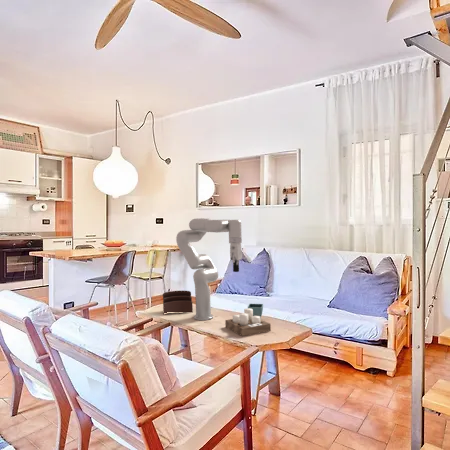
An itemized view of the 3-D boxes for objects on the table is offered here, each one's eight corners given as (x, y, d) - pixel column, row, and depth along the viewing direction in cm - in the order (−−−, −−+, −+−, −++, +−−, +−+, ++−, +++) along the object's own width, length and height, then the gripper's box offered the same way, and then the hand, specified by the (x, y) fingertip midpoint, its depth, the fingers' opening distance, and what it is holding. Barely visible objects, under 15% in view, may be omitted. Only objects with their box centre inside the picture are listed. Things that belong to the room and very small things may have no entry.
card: (247, 325, 192) (247, 324, 192) (258, 323, 195) (258, 322, 195) (251, 327, 189) (251, 326, 189) (262, 325, 192) (262, 324, 192)
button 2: (237, 324, 196) (237, 314, 196) (245, 323, 198) (245, 312, 198) (242, 327, 191) (242, 316, 191) (250, 325, 193) (249, 314, 193)
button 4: (250, 327, 199) (249, 316, 199) (257, 325, 202) (257, 315, 202) (254, 329, 195) (254, 318, 195) (262, 327, 197) (262, 317, 197)
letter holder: (163, 311, 245) (162, 291, 245) (191, 309, 249) (190, 289, 248) (163, 315, 235) (162, 294, 235) (192, 312, 239) (192, 292, 239)
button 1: (231, 325, 203) (231, 315, 203) (238, 324, 205) (238, 314, 205) (235, 328, 198) (235, 317, 198) (243, 326, 201) (242, 316, 201)
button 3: (243, 319, 206) (242, 309, 206) (250, 317, 209) (249, 308, 209) (247, 321, 202) (247, 311, 202) (254, 319, 204) (254, 309, 204)
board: (225, 326, 204) (225, 320, 204) (251, 322, 212) (251, 315, 212) (242, 336, 186) (242, 329, 186) (270, 330, 194) (270, 323, 194)
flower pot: (262, 321, 212) (261, 307, 212) (247, 321, 214) (247, 306, 214) (263, 317, 221) (263, 303, 220) (249, 317, 222) (249, 303, 222)
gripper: (238, 241, 197) (238, 273, 197) (244, 239, 211) (245, 270, 211) (225, 241, 199) (226, 273, 199) (232, 239, 213) (233, 269, 213)
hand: (236, 271), depth 205 cm, fingers closed
